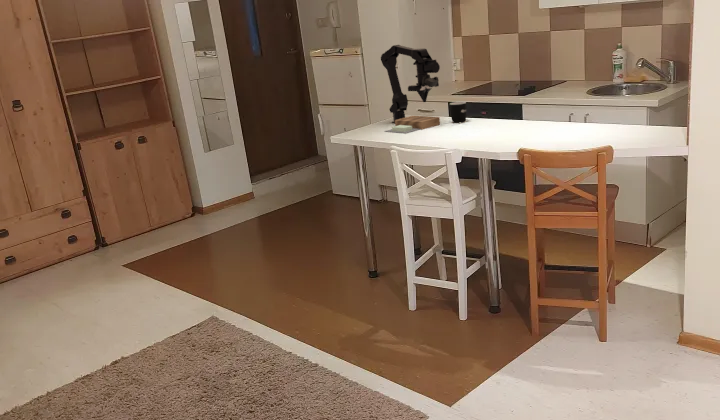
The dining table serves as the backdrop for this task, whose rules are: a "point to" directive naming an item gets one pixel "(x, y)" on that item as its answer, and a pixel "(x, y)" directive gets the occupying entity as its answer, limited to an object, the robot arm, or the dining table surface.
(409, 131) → the mat
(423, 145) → the dining table surface
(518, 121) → the dining table surface
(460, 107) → the mug
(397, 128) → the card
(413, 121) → the brown wooden flat block
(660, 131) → the dining table surface
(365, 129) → the dining table surface
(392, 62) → the robot arm
